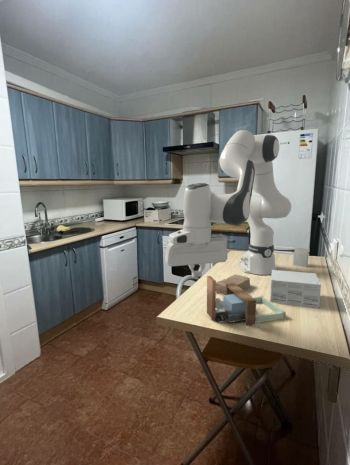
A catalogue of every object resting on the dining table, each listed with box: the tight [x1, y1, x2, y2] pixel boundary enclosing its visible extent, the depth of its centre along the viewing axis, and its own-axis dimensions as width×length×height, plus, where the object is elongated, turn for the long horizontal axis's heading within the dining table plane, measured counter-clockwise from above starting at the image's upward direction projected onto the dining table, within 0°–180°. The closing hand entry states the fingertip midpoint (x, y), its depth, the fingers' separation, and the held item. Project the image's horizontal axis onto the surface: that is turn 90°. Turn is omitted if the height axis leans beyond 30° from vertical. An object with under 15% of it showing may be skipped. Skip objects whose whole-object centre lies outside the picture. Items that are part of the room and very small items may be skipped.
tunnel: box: [225, 282, 257, 327], centre depth 90 cm, size 16×3×8 cm, turn 14°
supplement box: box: [269, 270, 322, 309], centre depth 101 cm, size 17×13×9 cm
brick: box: [216, 273, 251, 295], centre depth 112 cm, size 17×8×5 cm, turn 137°
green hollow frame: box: [252, 295, 287, 323], centre depth 92 cm, size 14×11×2 cm
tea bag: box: [292, 246, 309, 268], centre depth 142 cm, size 4×7×10 cm, turn 54°
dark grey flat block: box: [213, 316, 226, 323], centre depth 88 cm, size 7×3×1 cm, turn 14°
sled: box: [206, 275, 245, 323], centre depth 88 cm, size 11×14×13 cm
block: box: [222, 294, 246, 315], centre depth 90 cm, size 7×8×6 cm
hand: (196, 276), depth 84 cm, fingers closed
